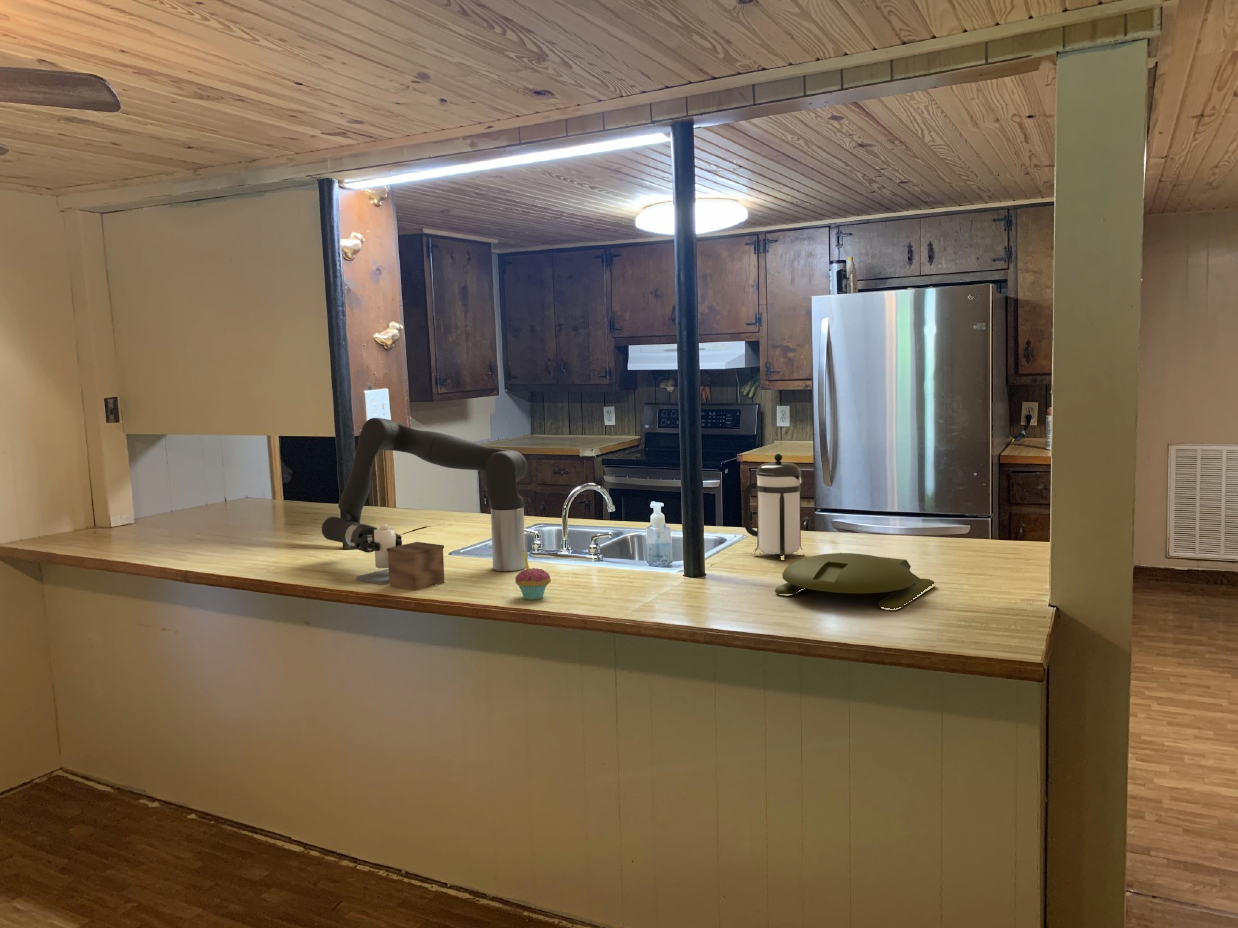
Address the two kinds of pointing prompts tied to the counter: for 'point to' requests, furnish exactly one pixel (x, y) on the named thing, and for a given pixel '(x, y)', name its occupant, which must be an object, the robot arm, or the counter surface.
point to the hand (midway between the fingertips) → (389, 545)
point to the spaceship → (855, 577)
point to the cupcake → (532, 581)
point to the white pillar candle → (384, 544)
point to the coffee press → (776, 508)
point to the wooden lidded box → (416, 565)
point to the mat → (375, 577)
